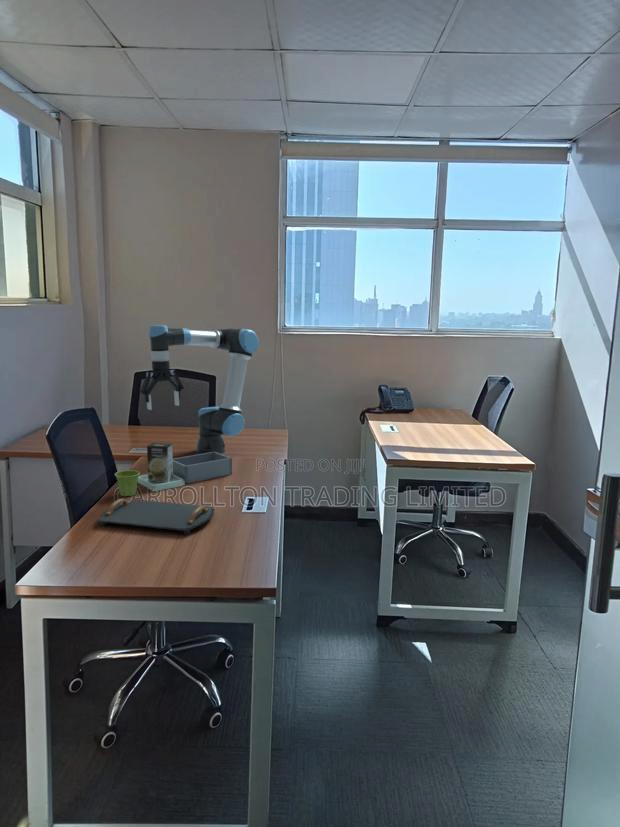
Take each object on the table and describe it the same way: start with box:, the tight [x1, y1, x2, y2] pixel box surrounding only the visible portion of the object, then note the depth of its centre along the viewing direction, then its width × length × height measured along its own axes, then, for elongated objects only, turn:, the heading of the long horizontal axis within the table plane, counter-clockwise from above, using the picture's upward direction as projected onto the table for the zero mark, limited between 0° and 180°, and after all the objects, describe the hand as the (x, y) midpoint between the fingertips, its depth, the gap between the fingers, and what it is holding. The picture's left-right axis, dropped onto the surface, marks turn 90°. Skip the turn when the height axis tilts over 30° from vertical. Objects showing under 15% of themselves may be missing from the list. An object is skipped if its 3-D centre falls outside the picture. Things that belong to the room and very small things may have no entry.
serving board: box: [97, 498, 215, 536], centre depth 199 cm, size 39×23×6 cm, turn 76°
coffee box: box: [146, 442, 174, 483], centre depth 239 cm, size 9×6×16 cm
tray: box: [137, 473, 186, 493], centre depth 240 cm, size 14×17×2 cm
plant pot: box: [114, 469, 141, 497], centre depth 226 cm, size 9×9×9 cm
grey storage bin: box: [173, 452, 233, 484], centre depth 253 cm, size 23×15×8 cm, turn 130°
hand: (163, 407), depth 256 cm, fingers open, 13 cm apart
